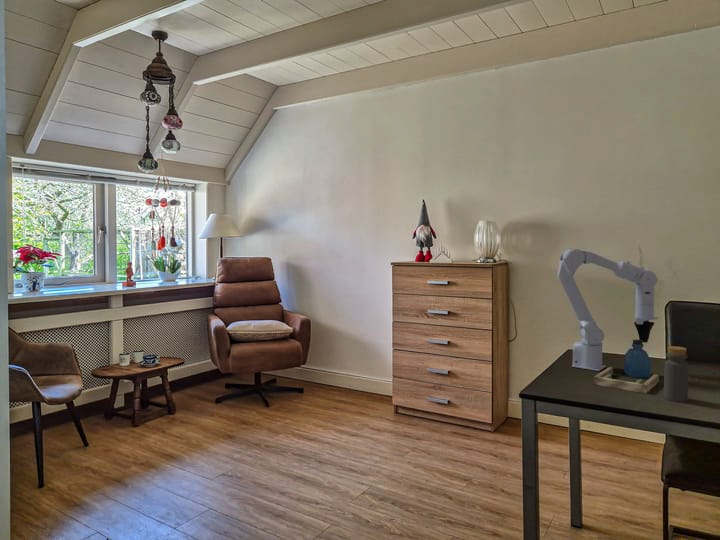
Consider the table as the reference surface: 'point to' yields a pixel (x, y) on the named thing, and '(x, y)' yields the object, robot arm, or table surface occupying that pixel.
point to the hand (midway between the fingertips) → (643, 342)
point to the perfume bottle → (637, 361)
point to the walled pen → (625, 382)
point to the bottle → (676, 375)
